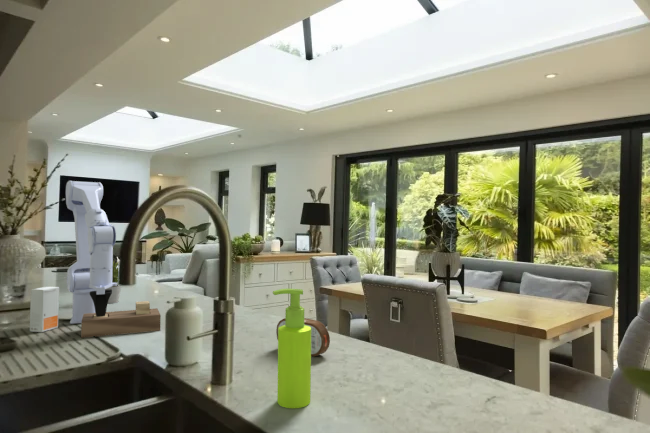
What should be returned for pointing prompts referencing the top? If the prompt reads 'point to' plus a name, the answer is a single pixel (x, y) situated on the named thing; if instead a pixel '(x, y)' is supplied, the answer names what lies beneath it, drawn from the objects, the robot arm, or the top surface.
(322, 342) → the tin
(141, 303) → the far maple peg
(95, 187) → the robot arm
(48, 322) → the skincare box
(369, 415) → the top surface
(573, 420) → the top surface
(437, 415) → the top surface
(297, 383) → the soap dispenser
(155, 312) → the walnut block
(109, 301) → the house plant
